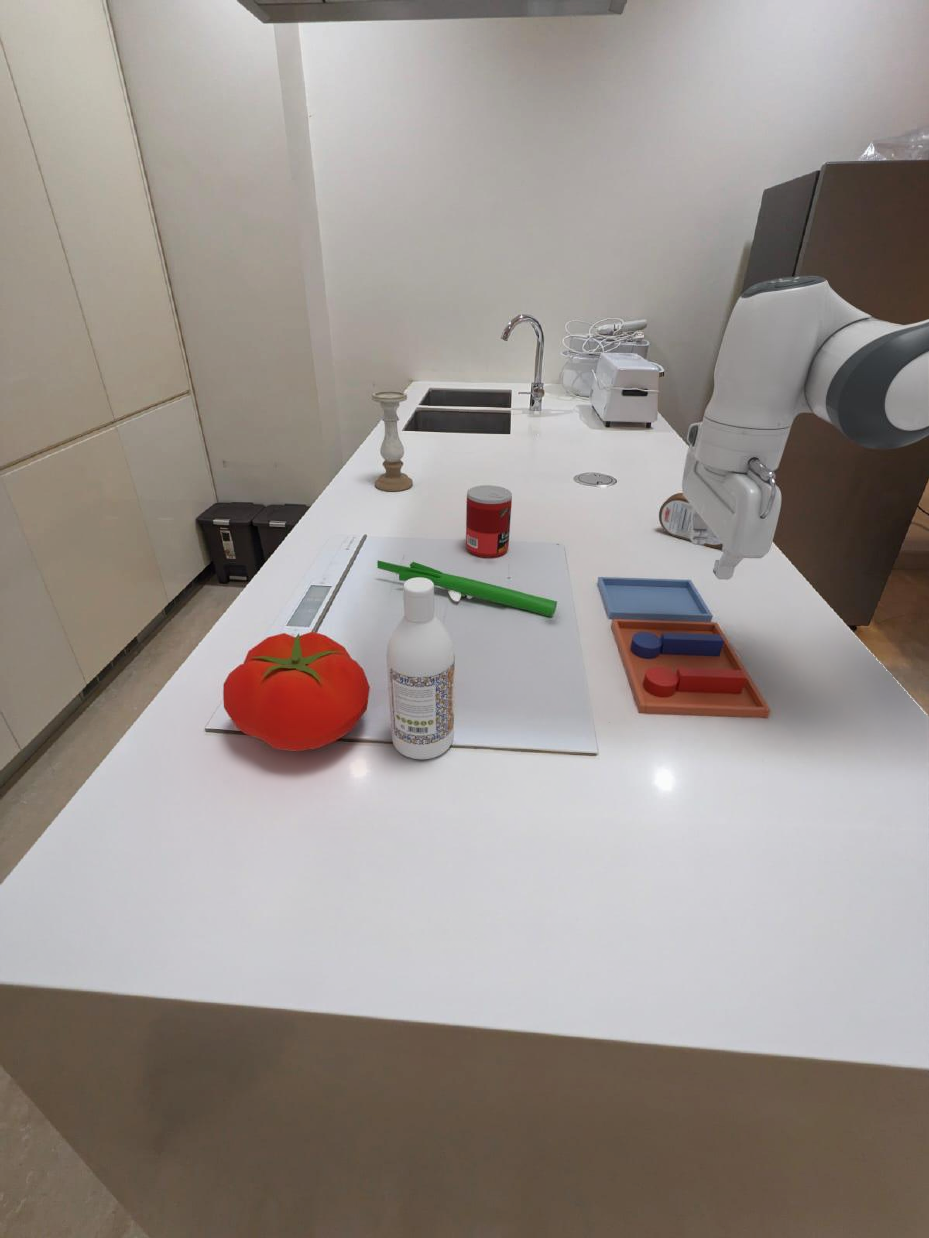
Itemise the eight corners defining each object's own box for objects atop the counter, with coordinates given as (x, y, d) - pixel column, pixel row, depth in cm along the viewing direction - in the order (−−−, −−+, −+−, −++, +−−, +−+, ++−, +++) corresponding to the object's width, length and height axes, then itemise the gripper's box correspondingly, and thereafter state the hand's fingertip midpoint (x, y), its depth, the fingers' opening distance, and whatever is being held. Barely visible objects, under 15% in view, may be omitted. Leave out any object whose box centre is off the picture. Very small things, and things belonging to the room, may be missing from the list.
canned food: (506, 560, 104) (510, 501, 98) (462, 556, 105) (463, 498, 99) (510, 542, 110) (514, 486, 104) (468, 539, 111) (470, 483, 105)
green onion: (555, 613, 90) (384, 569, 98) (558, 596, 88) (384, 551, 97) (547, 630, 86) (370, 581, 95) (550, 611, 84) (369, 564, 93)
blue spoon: (713, 644, 82) (717, 629, 80) (722, 661, 78) (727, 646, 77) (627, 641, 82) (630, 626, 80) (633, 658, 78) (636, 642, 77)
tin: (735, 548, 109) (747, 506, 105) (729, 554, 107) (742, 511, 103) (659, 527, 117) (668, 487, 113) (653, 532, 115) (661, 491, 111)
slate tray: (688, 588, 96) (690, 579, 95) (710, 624, 87) (713, 615, 86) (596, 585, 97) (598, 576, 96) (608, 621, 87) (610, 612, 86)
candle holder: (420, 485, 136) (418, 394, 125) (391, 494, 131) (386, 400, 120) (395, 476, 141) (391, 388, 130) (367, 485, 136) (360, 394, 125)
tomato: (316, 792, 59) (304, 718, 53) (205, 734, 65) (184, 664, 60) (397, 710, 69) (394, 642, 64) (295, 668, 76) (284, 603, 71)
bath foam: (460, 755, 63) (463, 598, 53) (397, 767, 62) (387, 606, 51) (446, 714, 69) (446, 564, 58) (388, 723, 67) (377, 570, 57)
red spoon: (733, 680, 75) (738, 664, 73) (744, 700, 71) (750, 683, 70) (639, 676, 75) (643, 660, 74) (646, 696, 72) (650, 680, 70)
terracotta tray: (714, 631, 85) (717, 622, 84) (766, 720, 69) (770, 710, 68) (610, 627, 86) (612, 618, 85) (638, 715, 69) (641, 705, 68)
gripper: (812, 478, 55) (768, 602, 63) (735, 424, 72) (708, 526, 80) (746, 476, 55) (709, 600, 63) (684, 422, 73) (662, 525, 80)
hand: (708, 558), depth 71 cm, fingers open, 8 cm apart
